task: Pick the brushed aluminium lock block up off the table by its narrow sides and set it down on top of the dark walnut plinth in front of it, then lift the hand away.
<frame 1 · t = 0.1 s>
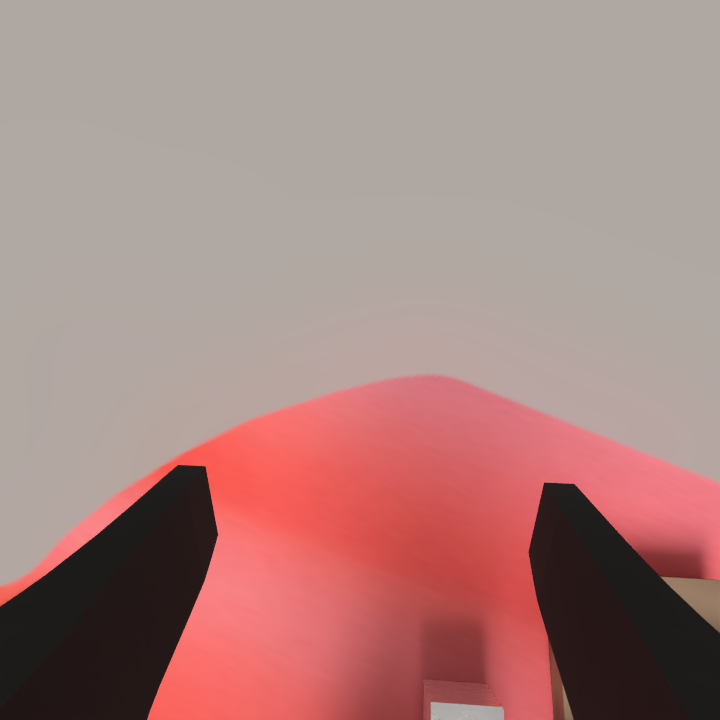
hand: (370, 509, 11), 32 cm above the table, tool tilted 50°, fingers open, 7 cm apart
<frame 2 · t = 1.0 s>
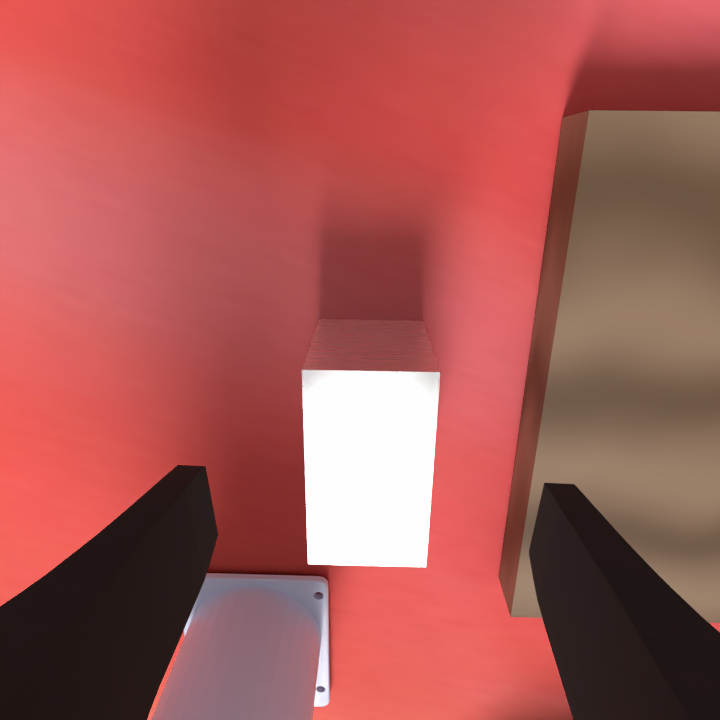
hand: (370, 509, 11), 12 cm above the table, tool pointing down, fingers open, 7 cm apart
aluminium lock block: (369, 402, 23), on the table
walnut plinth: (659, 389, 23), on the table
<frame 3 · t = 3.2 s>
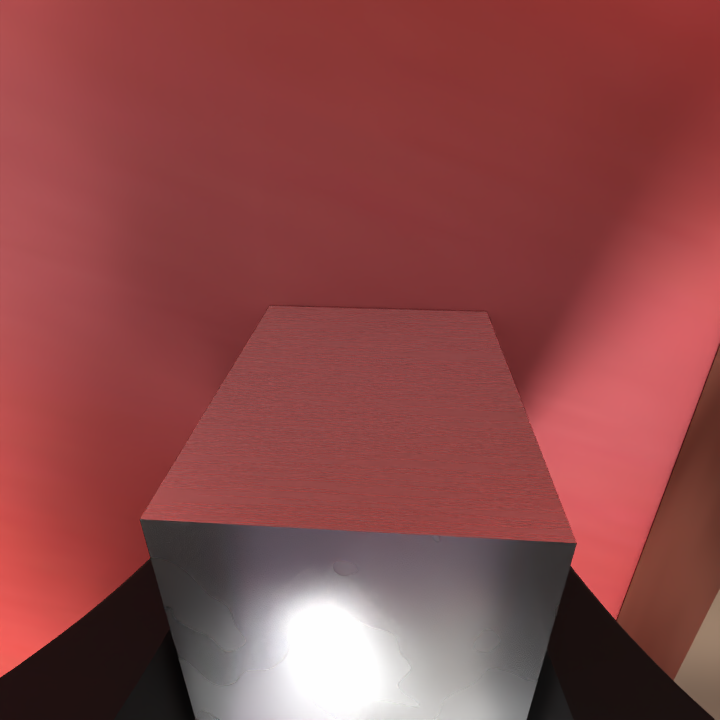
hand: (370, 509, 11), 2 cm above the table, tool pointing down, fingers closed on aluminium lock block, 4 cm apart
aluminium lock block: (374, 460, 12), on the table, touching gripper
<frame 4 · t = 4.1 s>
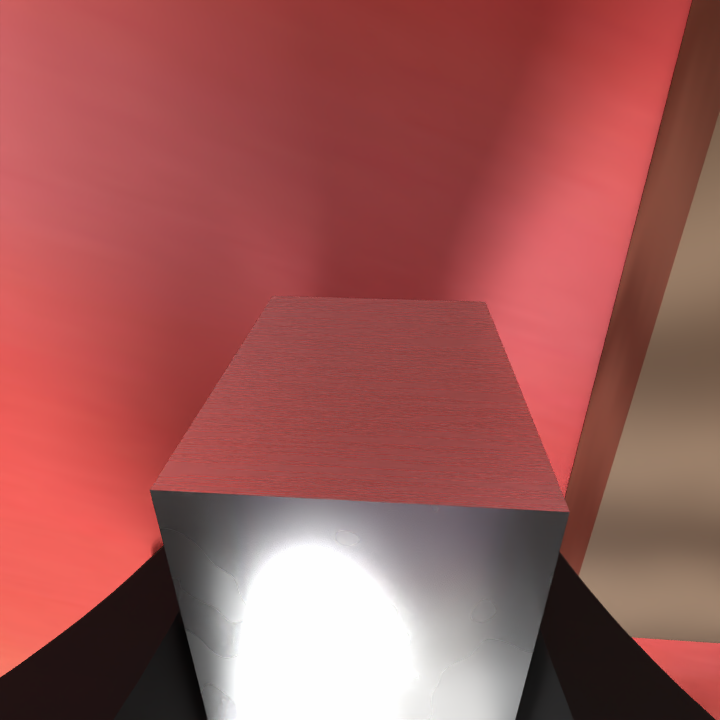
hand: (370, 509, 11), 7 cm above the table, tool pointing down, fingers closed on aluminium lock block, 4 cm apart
aluminium lock block: (374, 450, 13), point 5 cm above the table, touching gripper
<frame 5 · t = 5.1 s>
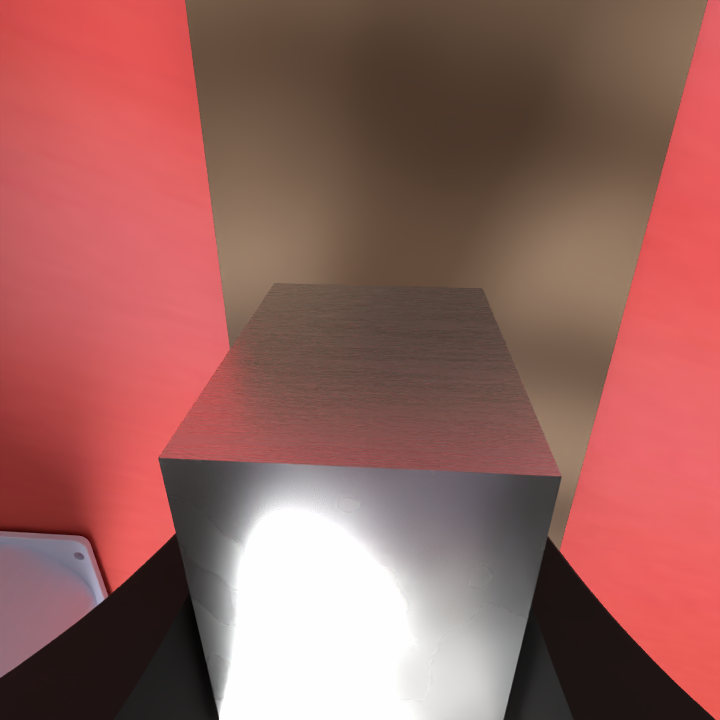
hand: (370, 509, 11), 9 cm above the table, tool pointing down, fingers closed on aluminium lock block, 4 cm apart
aluminium lock block: (374, 436, 13), point 6 cm above the table, touching gripper
walnut plinth: (413, 338, 19), on the table
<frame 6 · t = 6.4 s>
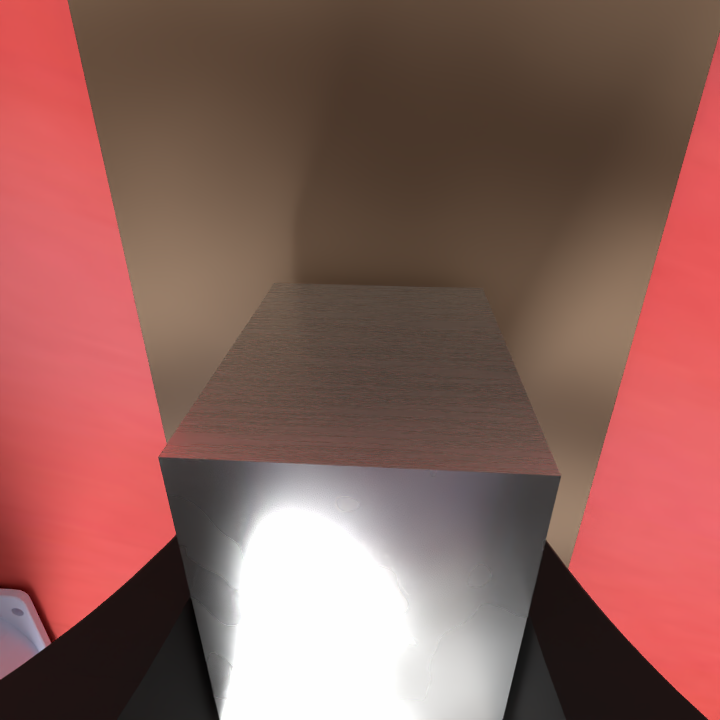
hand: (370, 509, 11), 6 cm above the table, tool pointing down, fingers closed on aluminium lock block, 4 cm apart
aluminium lock block: (374, 436, 13), point 3 cm above the table, touching gripper
walnut plinth: (380, 379, 16), on the table
when the fingers open (6 cm above the table, at t = 6.6 s): aluminium lock block stays where it is, resting on walnut plinth.
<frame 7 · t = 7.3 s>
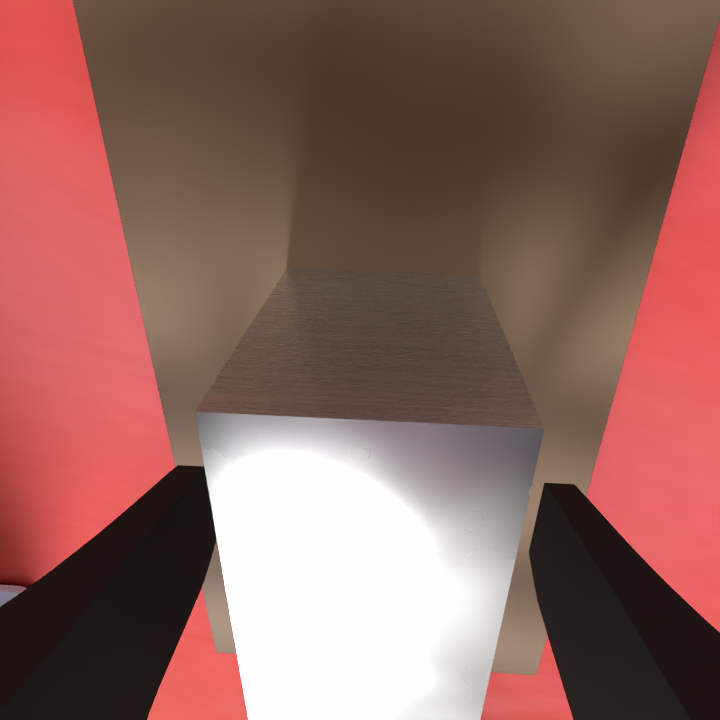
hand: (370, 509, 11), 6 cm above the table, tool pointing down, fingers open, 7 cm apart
aluminium lock block: (377, 414, 14), point 2 cm above the table, touching walnut plinth
walnut plinth: (381, 376, 16), on the table
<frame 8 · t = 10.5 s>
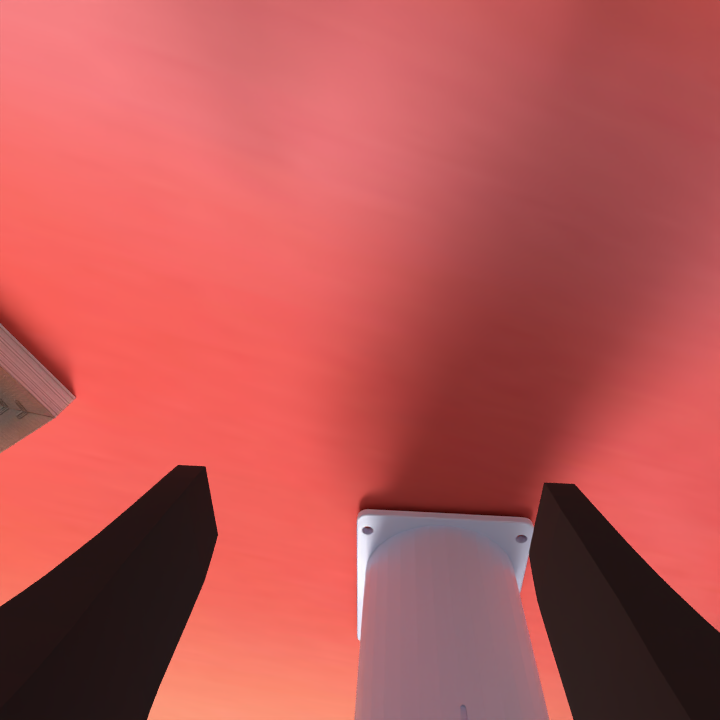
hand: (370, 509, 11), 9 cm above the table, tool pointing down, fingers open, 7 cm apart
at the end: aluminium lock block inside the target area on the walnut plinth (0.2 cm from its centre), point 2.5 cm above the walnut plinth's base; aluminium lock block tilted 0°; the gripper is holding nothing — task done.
